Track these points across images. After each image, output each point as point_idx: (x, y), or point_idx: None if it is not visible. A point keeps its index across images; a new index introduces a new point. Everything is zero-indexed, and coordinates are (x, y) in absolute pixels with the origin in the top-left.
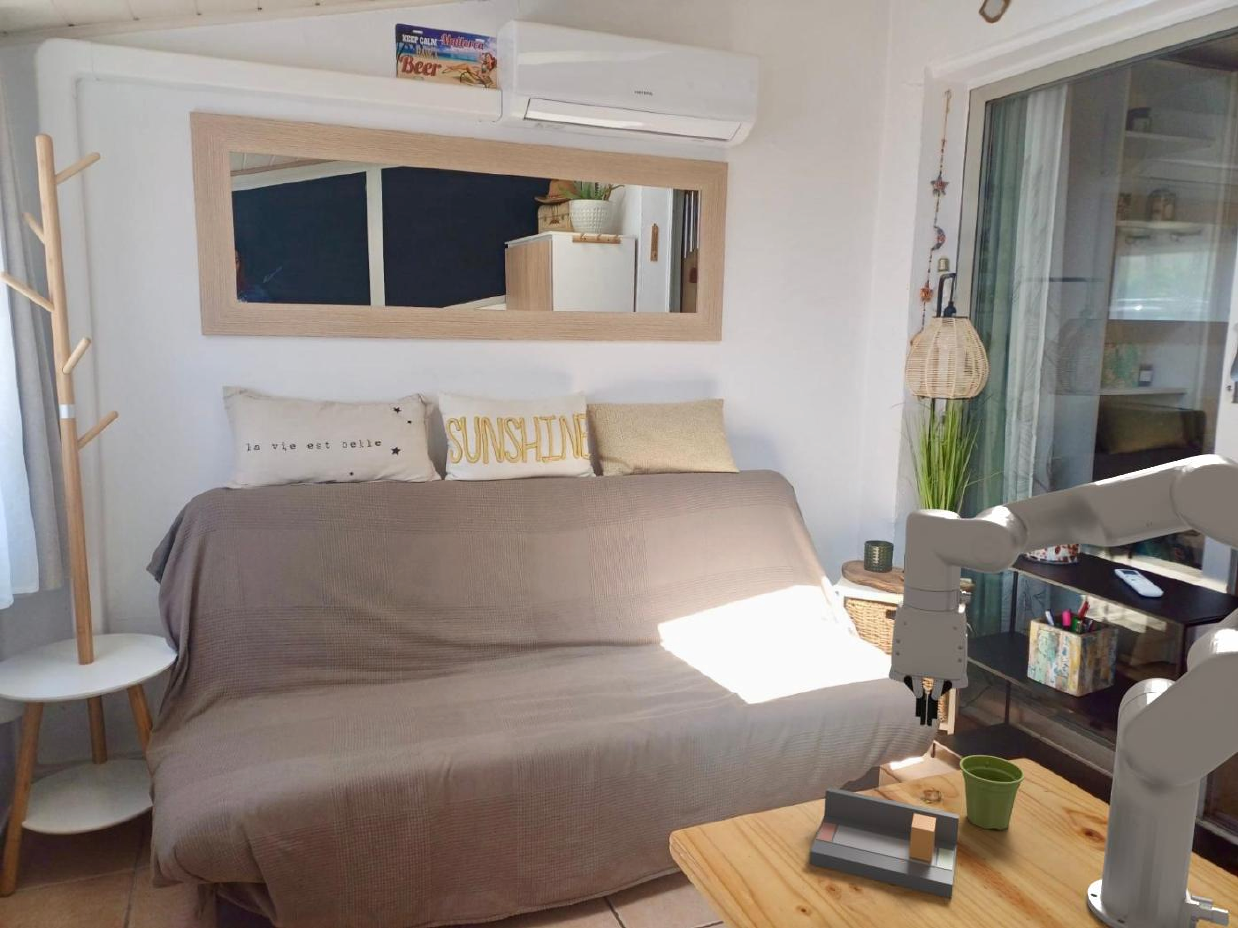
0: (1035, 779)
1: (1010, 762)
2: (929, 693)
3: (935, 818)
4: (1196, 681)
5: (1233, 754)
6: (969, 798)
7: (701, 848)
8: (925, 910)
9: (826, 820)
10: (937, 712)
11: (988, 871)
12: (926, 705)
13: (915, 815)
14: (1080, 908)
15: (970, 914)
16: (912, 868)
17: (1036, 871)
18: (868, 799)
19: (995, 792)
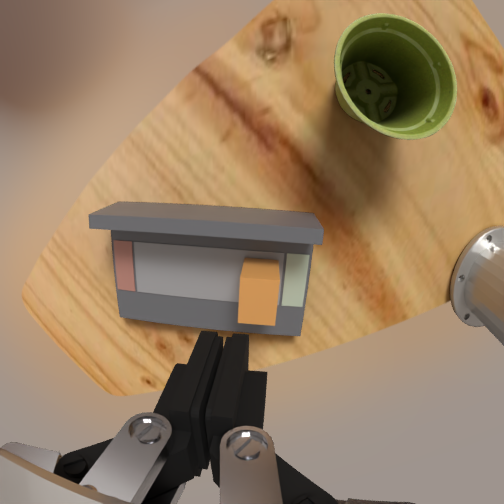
0: None
1: (433, 39)
2: (213, 477)
3: (278, 282)
4: None
5: None
6: (345, 102)
7: (34, 309)
8: (267, 354)
9: (116, 232)
10: (263, 421)
11: (354, 247)
12: (212, 374)
13: (242, 284)
14: (441, 289)
15: (317, 345)
16: None
17: (416, 224)
18: (157, 232)
19: (398, 130)
